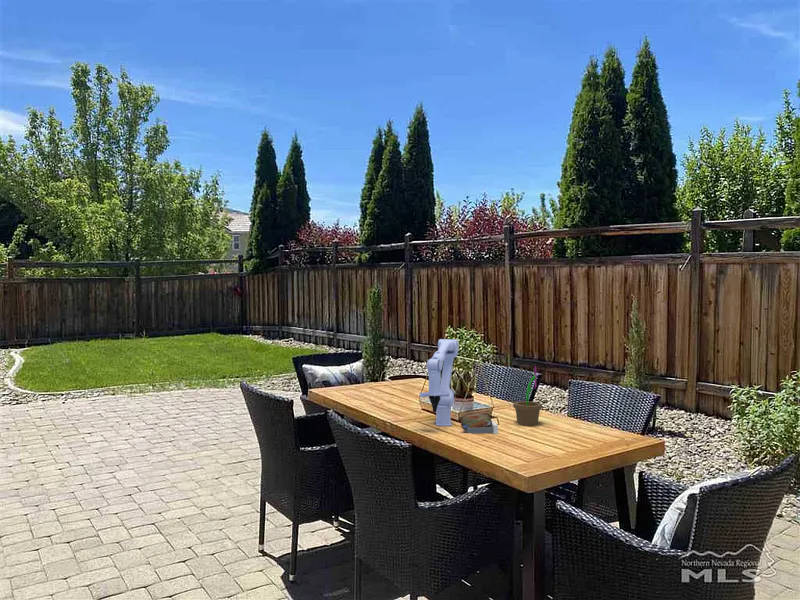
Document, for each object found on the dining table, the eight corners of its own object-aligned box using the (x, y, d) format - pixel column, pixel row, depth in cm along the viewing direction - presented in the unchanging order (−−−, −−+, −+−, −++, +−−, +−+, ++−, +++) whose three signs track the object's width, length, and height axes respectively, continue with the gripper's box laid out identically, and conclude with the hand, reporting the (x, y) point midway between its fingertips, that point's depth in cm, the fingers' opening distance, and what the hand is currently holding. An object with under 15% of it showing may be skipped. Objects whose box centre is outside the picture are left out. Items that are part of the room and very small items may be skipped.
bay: (464, 429, 289) (464, 421, 289) (493, 428, 289) (493, 420, 289) (467, 434, 279) (467, 425, 279) (497, 433, 279) (498, 425, 279)
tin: (461, 433, 281) (461, 415, 281) (460, 431, 284) (460, 414, 284) (492, 432, 283) (492, 414, 283) (490, 430, 286) (490, 413, 286)
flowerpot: (542, 427, 292) (542, 367, 291) (513, 426, 295) (513, 366, 294) (541, 421, 306) (541, 363, 305) (513, 420, 309) (513, 363, 308)
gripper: (420, 385, 280) (420, 413, 281) (450, 384, 281) (450, 413, 281) (419, 382, 287) (419, 410, 288) (448, 382, 288) (448, 410, 288)
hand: (434, 411), depth 285 cm, fingers closed
